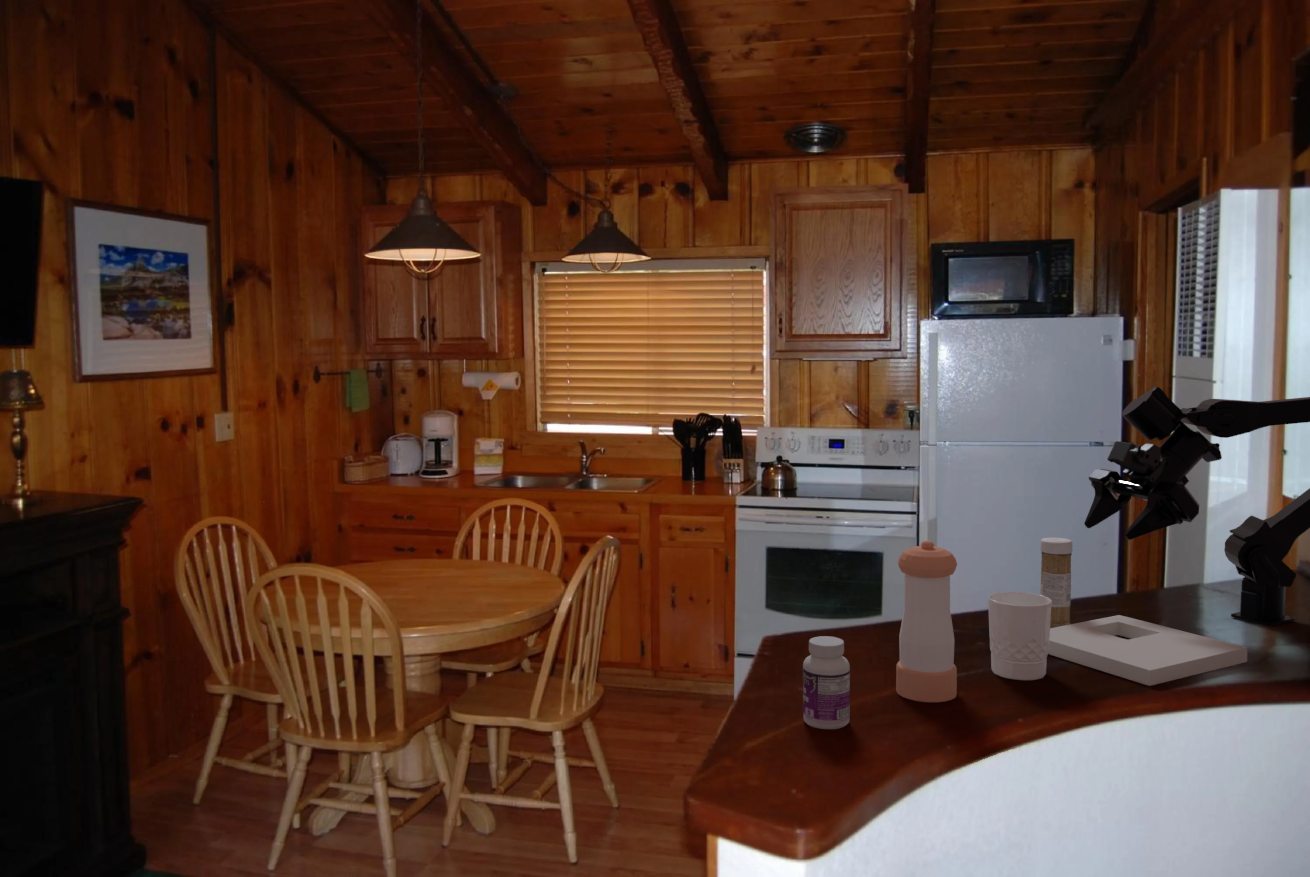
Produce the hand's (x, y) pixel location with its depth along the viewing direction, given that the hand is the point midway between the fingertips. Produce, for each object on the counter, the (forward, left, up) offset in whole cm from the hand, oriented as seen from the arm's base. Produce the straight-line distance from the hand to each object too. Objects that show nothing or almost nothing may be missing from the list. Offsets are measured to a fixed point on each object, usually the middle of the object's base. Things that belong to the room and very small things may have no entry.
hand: (1106, 531), depth 158 cm
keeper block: (+10, +13, -14) cm, 22 cm away
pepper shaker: (+46, +11, -15) cm, 50 cm away
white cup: (+30, +11, -15) cm, 36 cm away
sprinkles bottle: (+7, -3, -15) cm, 17 cm away
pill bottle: (+63, +13, -15) cm, 66 cm away
